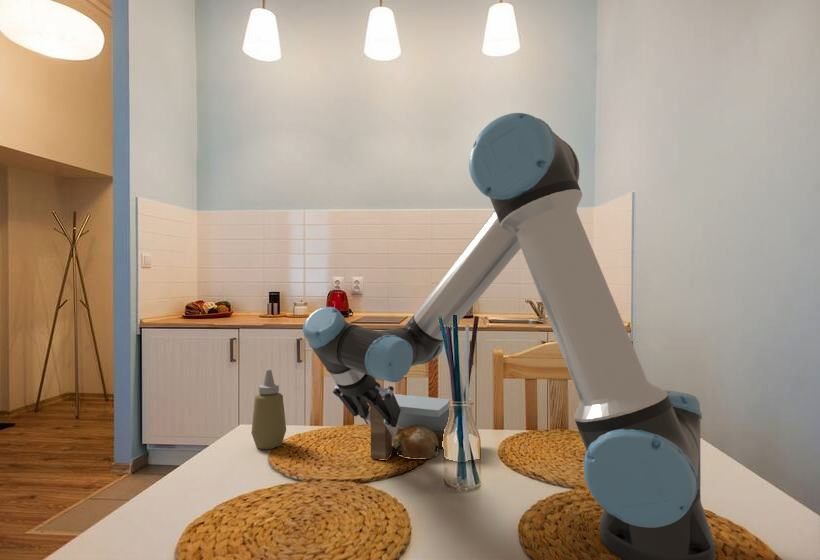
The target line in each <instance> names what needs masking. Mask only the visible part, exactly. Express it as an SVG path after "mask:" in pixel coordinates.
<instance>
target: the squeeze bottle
mask: <svg viewBox="0 0 820 560" xmlns="http://www.w3.org/2000/svg"><path fill="white" fill-rule="evenodd" d="M286 432H287V423H286V414H285V403H284V395H283V394H282V393H280V384H278V383H275V380H274V375H273V372H272V369H266V370H265V375H264V380H263V383H262V384H259V386H258V394H257V395H256V396H255V397H254V404H253V414H252V423H251V436H252V438H253V441H254V444H255V447H256V448H257V449H259V450H272V449H276V448H275V447H277V448H279V447H281V446H282V444H283V441H284V439H285V435H286ZM280 445H281V446H280ZM278 446H279V447H278Z"/></svg>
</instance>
